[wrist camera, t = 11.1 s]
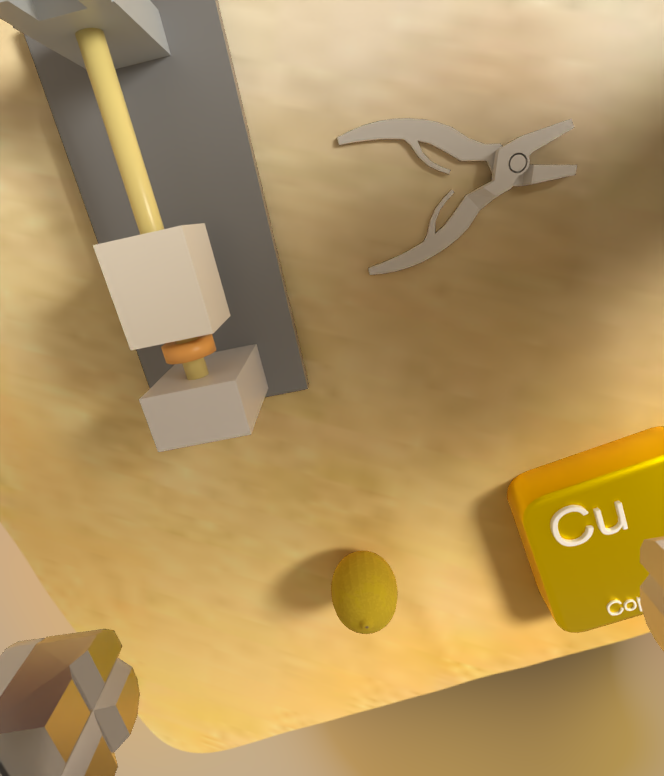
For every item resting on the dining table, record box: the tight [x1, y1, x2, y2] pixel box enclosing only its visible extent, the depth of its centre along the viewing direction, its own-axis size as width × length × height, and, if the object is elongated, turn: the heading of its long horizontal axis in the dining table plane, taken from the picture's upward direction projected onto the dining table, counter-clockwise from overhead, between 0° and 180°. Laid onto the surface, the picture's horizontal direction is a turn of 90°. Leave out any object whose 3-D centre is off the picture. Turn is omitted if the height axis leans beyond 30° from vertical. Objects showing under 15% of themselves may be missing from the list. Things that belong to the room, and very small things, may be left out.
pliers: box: [337, 118, 577, 275], centre depth 34 cm, size 10×2×15 cm
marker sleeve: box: [93, 223, 231, 350], centre depth 30 cm, size 5×6×5 cm
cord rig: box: [0, 0, 309, 452], centre depth 30 cm, size 12×27×12 cm, turn 12°
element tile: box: [507, 426, 664, 633], centre depth 42 cm, size 15×15×5 cm
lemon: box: [331, 551, 398, 634], centre depth 41 cm, size 6×6×8 cm
